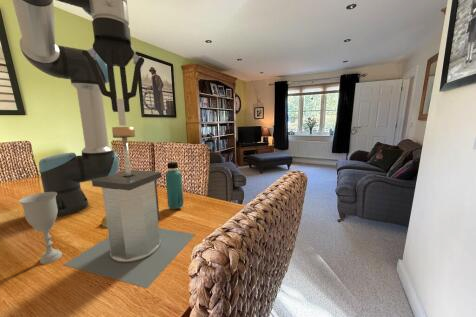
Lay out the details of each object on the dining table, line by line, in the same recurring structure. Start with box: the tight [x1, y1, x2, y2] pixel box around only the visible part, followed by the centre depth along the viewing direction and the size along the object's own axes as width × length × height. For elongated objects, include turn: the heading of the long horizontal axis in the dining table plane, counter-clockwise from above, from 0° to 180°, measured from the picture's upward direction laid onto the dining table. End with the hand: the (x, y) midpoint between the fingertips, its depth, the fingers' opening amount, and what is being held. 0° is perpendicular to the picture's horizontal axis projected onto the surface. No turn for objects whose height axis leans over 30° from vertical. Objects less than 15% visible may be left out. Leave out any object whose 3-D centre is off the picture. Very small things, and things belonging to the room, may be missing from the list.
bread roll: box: [101, 215, 108, 228], centre depth 74 cm, size 8×9×4 cm
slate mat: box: [63, 227, 197, 289], centre depth 58 cm, size 26×22×1 cm
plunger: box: [111, 126, 136, 178], centre depth 54 cm, size 9×9×23 cm
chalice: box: [18, 191, 63, 265], centre depth 53 cm, size 7×7×18 cm
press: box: [91, 169, 162, 263], centre depth 58 cm, size 13×16×22 cm
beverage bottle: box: [164, 161, 185, 209], centre depth 83 cm, size 6×7×20 cm
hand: (123, 125), depth 52 cm, fingers closed
